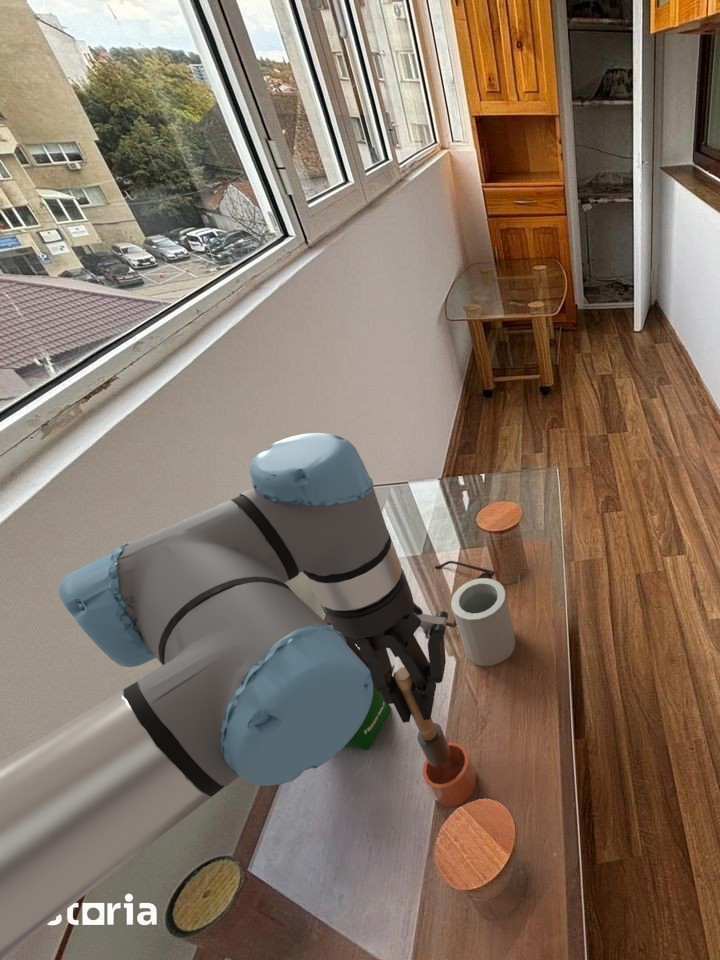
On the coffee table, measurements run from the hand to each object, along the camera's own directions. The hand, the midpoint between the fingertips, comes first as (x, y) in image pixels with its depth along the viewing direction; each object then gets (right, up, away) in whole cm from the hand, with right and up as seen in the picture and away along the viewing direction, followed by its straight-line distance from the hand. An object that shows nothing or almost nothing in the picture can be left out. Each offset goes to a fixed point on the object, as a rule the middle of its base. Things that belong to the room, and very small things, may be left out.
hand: (418, 710), depth 63 cm
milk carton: (-18, -12, +21) cm, 30 cm away
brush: (0, -10, +7) cm, 12 cm away
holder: (0, -18, +14) cm, 22 cm away
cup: (-1, -3, +33) cm, 33 cm away
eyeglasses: (-12, +4, +42) cm, 44 cm away
